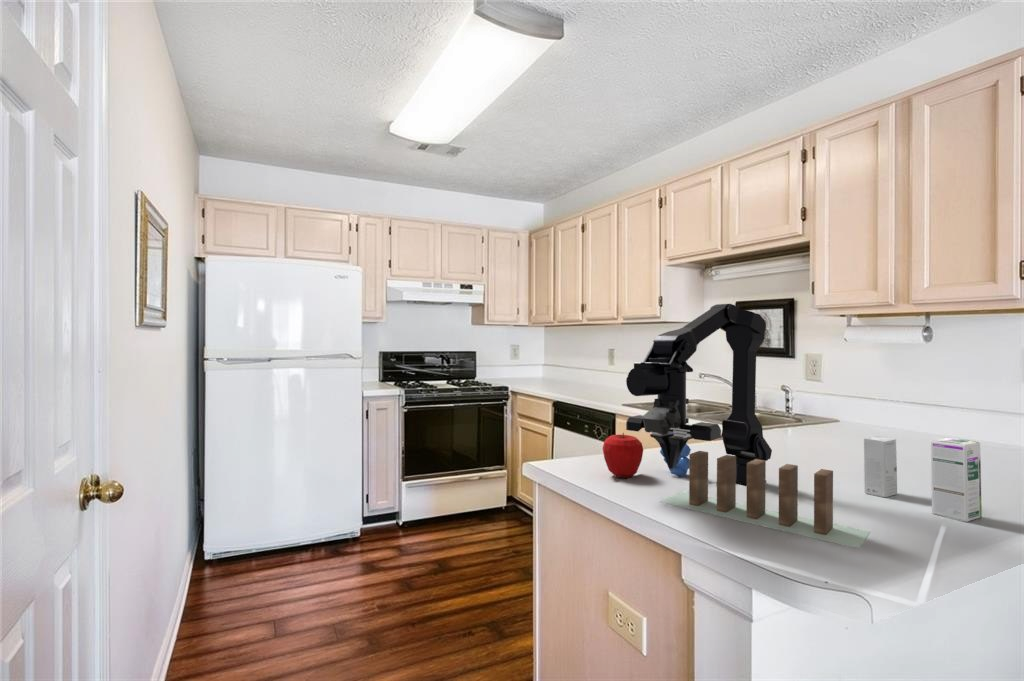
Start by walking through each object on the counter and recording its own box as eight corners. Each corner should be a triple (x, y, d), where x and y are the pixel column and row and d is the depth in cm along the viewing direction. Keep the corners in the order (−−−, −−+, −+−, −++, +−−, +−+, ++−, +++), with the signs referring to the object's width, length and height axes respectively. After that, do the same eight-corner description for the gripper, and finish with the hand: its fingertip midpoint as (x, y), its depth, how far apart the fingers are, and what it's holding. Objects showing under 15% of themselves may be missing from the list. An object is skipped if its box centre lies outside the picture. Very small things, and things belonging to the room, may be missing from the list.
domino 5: (813, 532, 88) (814, 473, 88) (821, 525, 91) (821, 468, 91) (826, 535, 87) (826, 475, 87) (832, 528, 90) (833, 470, 90)
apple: (595, 473, 129) (595, 430, 129) (626, 470, 133) (627, 428, 133) (618, 483, 120) (618, 437, 120) (651, 479, 124) (651, 434, 124)
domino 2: (716, 510, 99) (716, 458, 99) (726, 505, 103) (726, 454, 103) (726, 512, 98) (726, 460, 98) (735, 507, 101) (735, 456, 102)
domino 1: (689, 504, 103) (689, 454, 103) (699, 499, 106) (699, 450, 107) (698, 506, 102) (698, 455, 102) (708, 501, 105) (708, 451, 105)
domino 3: (746, 517, 95) (746, 463, 95) (755, 511, 99) (755, 459, 99) (756, 519, 94) (756, 464, 94) (765, 513, 98) (765, 460, 98)
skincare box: (886, 498, 110) (886, 441, 110) (862, 493, 114) (862, 438, 114) (898, 493, 114) (898, 438, 114) (875, 489, 117) (875, 435, 117)
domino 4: (778, 524, 92) (778, 468, 92) (786, 518, 95) (786, 463, 95) (789, 527, 90) (789, 470, 90) (797, 520, 94) (797, 465, 94)
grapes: (648, 470, 133) (649, 423, 133) (672, 469, 135) (673, 423, 135) (671, 482, 122) (671, 431, 122) (697, 480, 123) (697, 430, 123)
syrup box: (967, 522, 95) (967, 444, 95) (930, 513, 100) (930, 438, 100) (982, 518, 98) (982, 441, 98) (944, 509, 103) (944, 436, 103)
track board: (681, 494, 112) (681, 491, 112) (870, 535, 88) (870, 531, 88) (659, 504, 105) (659, 501, 105) (858, 552, 81) (858, 548, 81)
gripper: (612, 393, 109) (612, 467, 109) (698, 400, 96) (698, 484, 96) (639, 390, 117) (639, 459, 117) (722, 396, 104) (721, 473, 104)
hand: (671, 468), depth 108 cm, fingers closed
